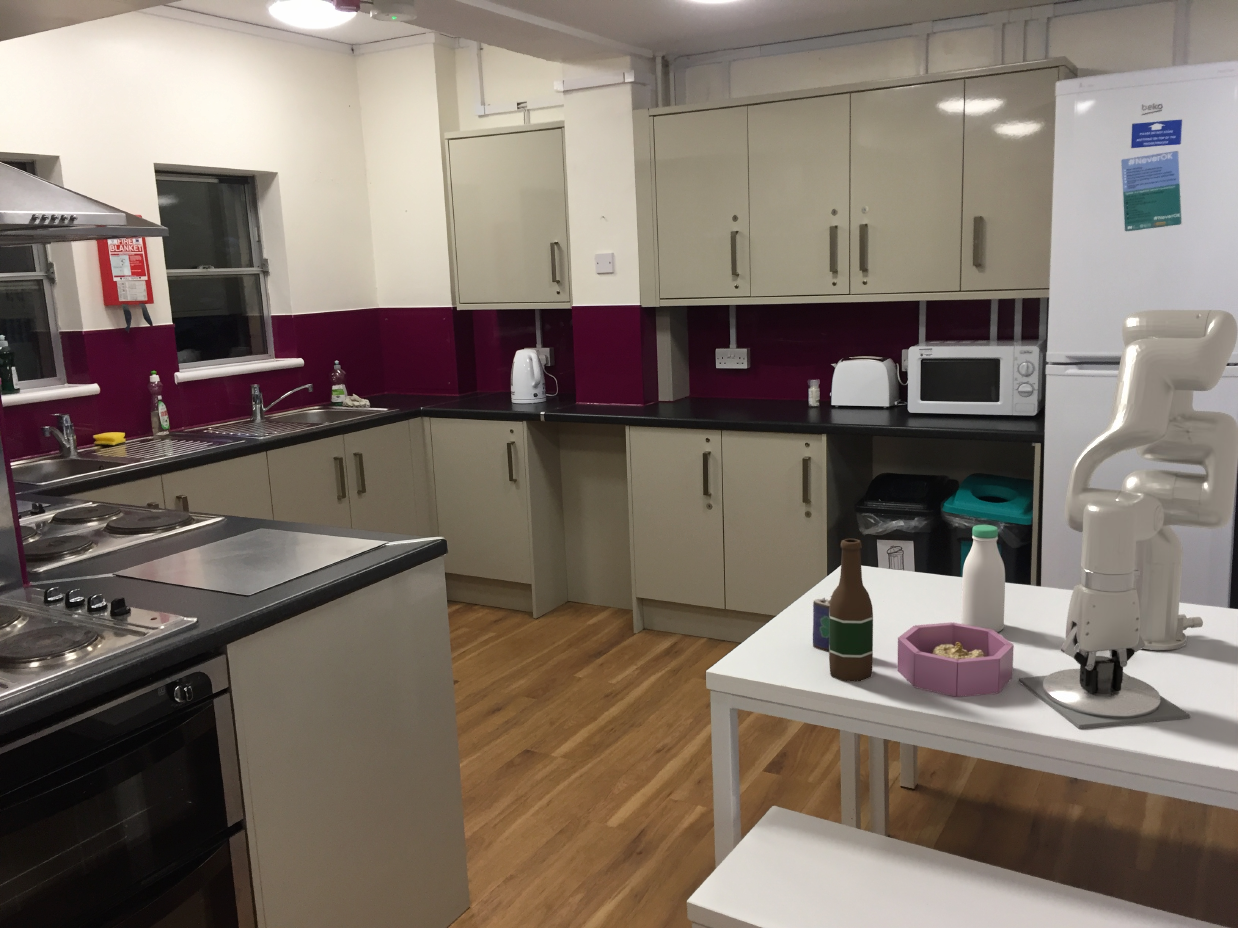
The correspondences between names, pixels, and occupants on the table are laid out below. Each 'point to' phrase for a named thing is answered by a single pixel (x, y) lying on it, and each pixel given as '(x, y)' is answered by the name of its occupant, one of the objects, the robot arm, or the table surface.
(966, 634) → the pink octagonal dish
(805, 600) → the table surface
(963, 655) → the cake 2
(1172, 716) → the mat
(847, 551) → the beer bottle
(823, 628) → the flask
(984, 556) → the milk bottle
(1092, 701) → the lid
